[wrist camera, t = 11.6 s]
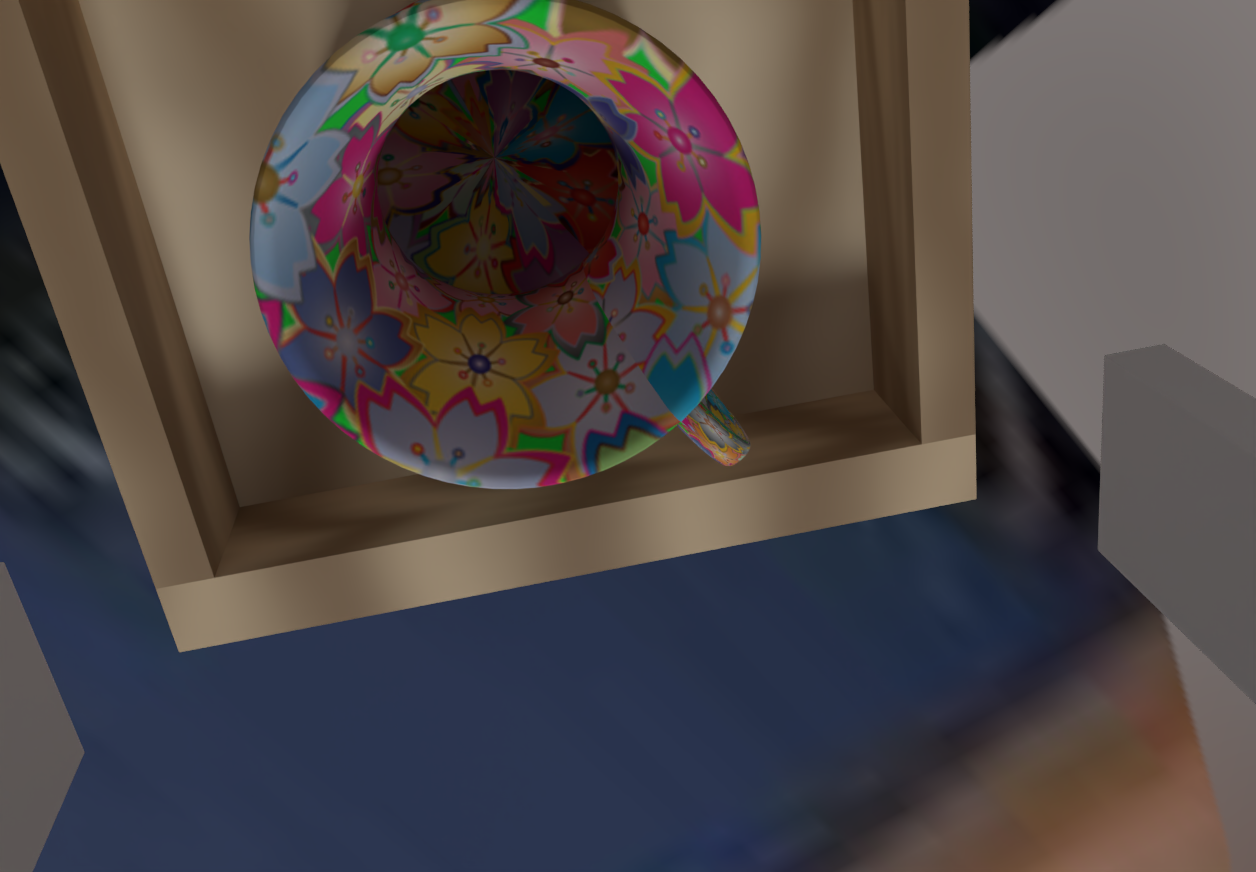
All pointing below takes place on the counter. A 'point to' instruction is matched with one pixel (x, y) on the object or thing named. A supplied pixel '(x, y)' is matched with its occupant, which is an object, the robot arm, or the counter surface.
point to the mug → (508, 243)
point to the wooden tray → (445, 512)
